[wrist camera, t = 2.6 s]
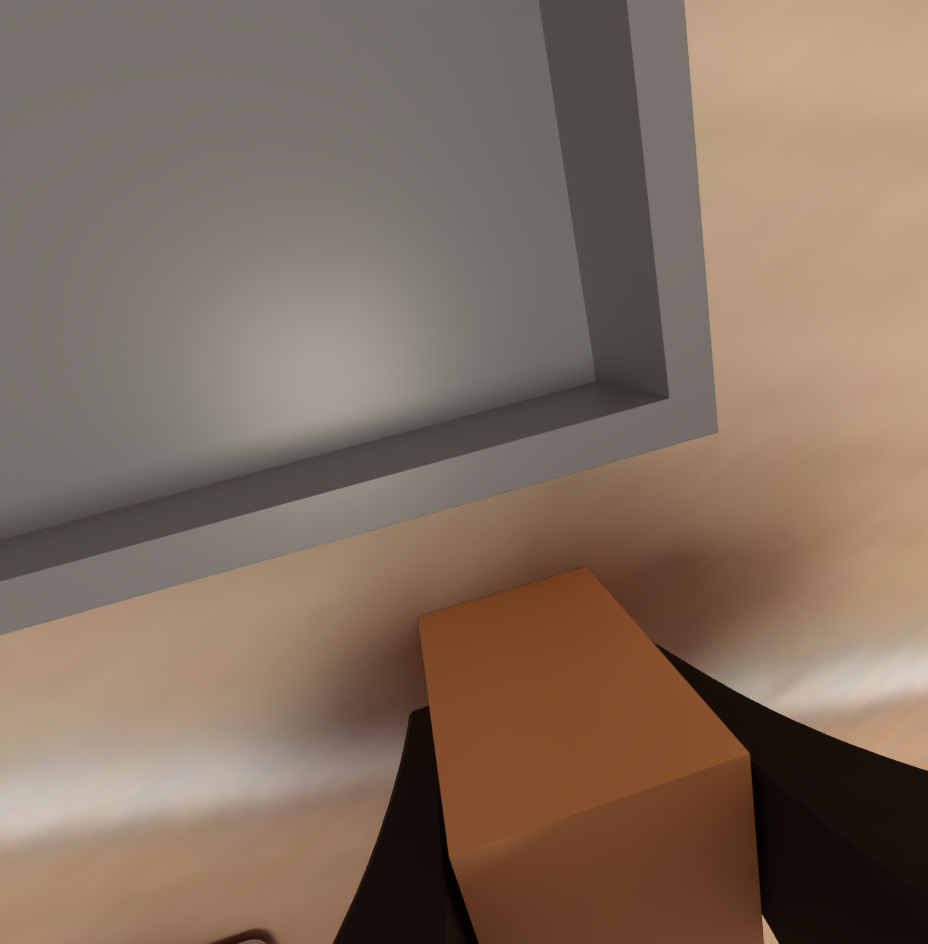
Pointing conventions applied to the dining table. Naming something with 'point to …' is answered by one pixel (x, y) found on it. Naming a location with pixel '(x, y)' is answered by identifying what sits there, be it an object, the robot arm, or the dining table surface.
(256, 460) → the serving tray
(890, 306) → the dining table surface
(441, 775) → the orange block
